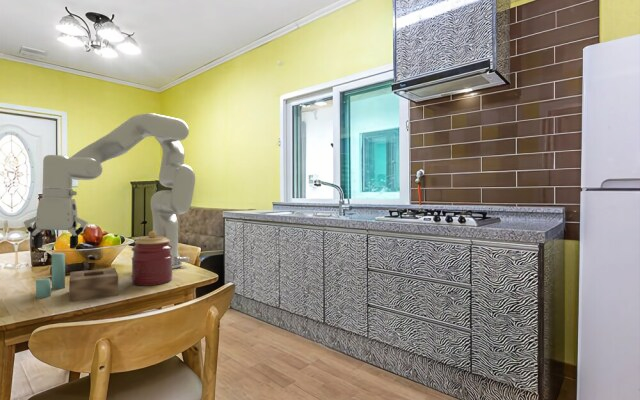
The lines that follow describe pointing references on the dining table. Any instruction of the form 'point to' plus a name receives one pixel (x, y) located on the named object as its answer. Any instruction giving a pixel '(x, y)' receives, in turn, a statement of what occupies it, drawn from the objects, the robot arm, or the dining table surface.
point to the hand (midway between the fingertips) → (56, 247)
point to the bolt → (77, 267)
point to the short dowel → (43, 288)
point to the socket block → (93, 284)
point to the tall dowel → (58, 270)
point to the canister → (151, 260)
